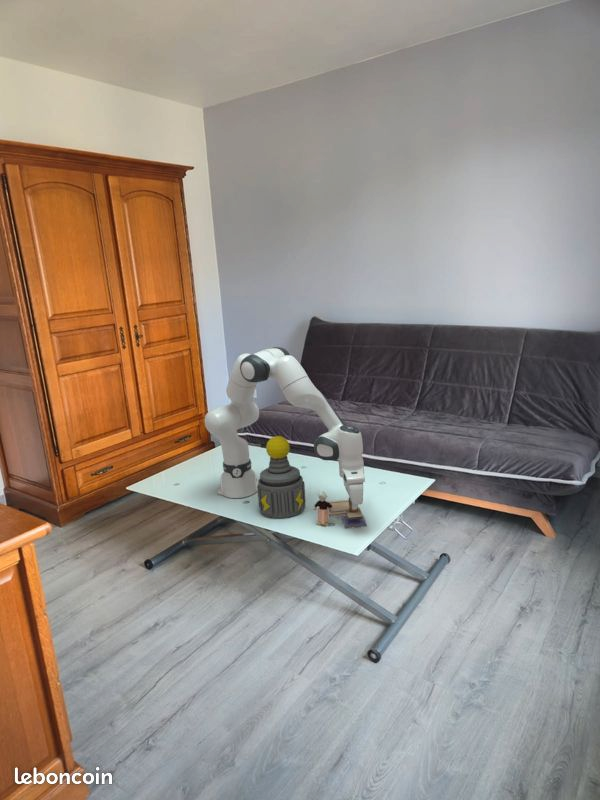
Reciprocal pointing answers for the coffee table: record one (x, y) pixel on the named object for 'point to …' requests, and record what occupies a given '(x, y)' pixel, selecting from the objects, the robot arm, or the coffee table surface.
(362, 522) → the ink pad
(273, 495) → the grey toy tesla coil
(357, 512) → the stamp
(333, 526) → the coffee table surface
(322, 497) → the grandmother figurine
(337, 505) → the card sheet
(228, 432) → the robot arm
